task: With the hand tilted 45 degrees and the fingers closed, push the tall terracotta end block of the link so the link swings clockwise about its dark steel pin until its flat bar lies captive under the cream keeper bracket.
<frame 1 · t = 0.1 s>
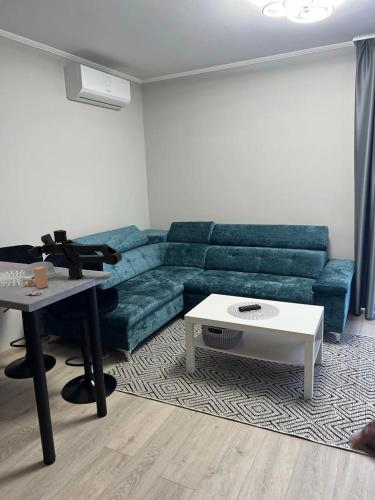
hand: (31, 249, 206), 17 cm above the table, tool horizontal, fingers open, 9 cm apart
keeper: (23, 286, 194), on the table
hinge: (40, 277, 211), on the table
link: (36, 276, 191), point 5 cm above the table, hinge at 0.0°
pintle: (34, 284, 196), on the table
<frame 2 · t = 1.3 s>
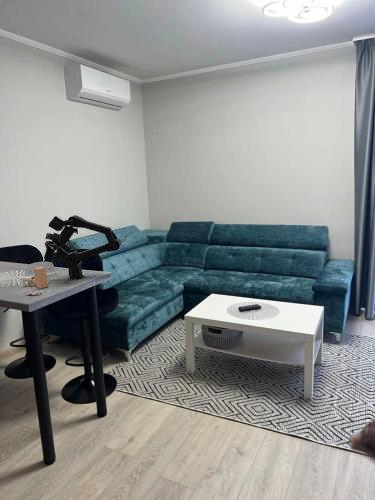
hand: (48, 259, 192), 13 cm above the table, tool tilted 45°, fingers open, 9 cm apart
nothing on the table moved.
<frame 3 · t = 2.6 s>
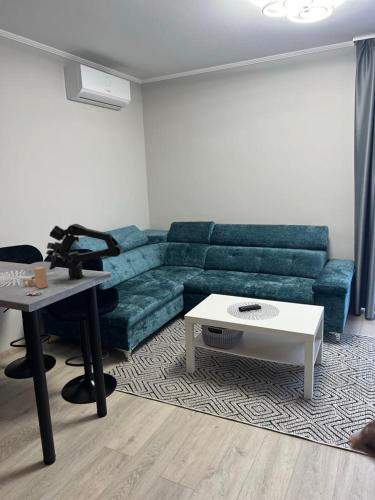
hand: (50, 269, 193), 8 cm above the table, tool tilted 45°, fingers closed
nothing on the table moved.
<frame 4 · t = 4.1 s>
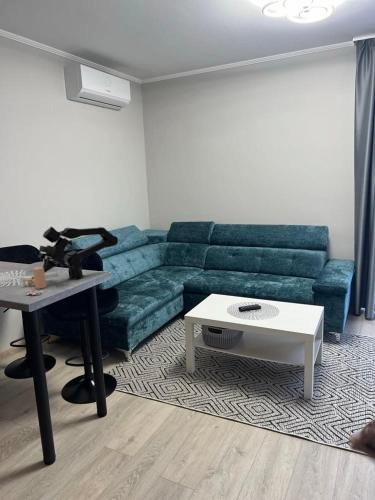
hand: (42, 272, 190), 7 cm above the table, tool tilted 45°, fingers closed, pressing on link
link: (35, 276, 191), point 5 cm above the table, hinge at -4.5°, touching gripper
everything else where it was.
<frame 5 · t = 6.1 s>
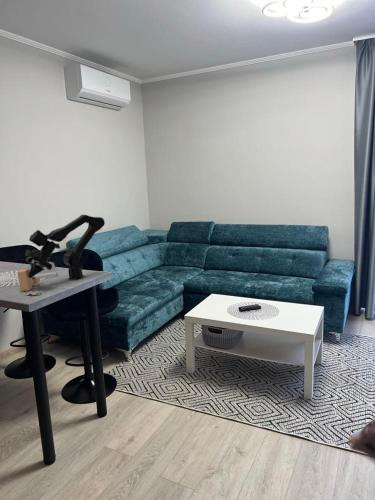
hand: (29, 277, 185), 6 cm above the table, tool tilted 45°, fingers closed
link: (28, 277, 190), point 5 cm above the table, hinge at -47.2°, touching gripper
everything else where it was.
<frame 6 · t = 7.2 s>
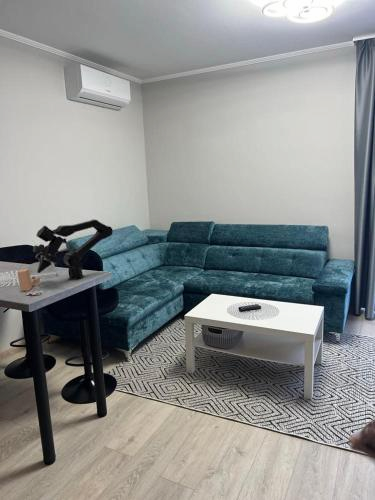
hand: (38, 272, 188), 8 cm above the table, tool tilted 40°, fingers closed
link: (28, 277, 190), point 5 cm above the table, hinge at -47.2°
everything else where it was.
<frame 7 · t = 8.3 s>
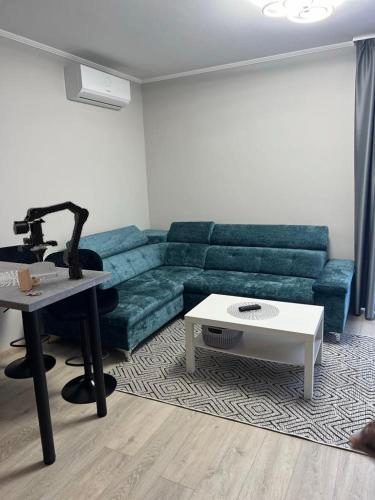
hand: (40, 262, 190), 13 cm above the table, tool pointing down, fingers closed
nothing on the table moved.
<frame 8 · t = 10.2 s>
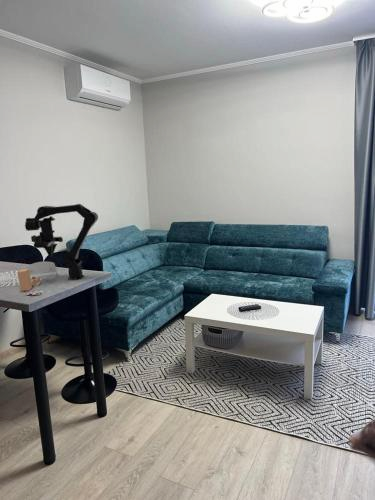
hand: (50, 257, 201), 13 cm above the table, tool pointing down, fingers closed
nothing on the table moved.
at the end: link at -47° (first picture: +0°); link touching nothing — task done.
